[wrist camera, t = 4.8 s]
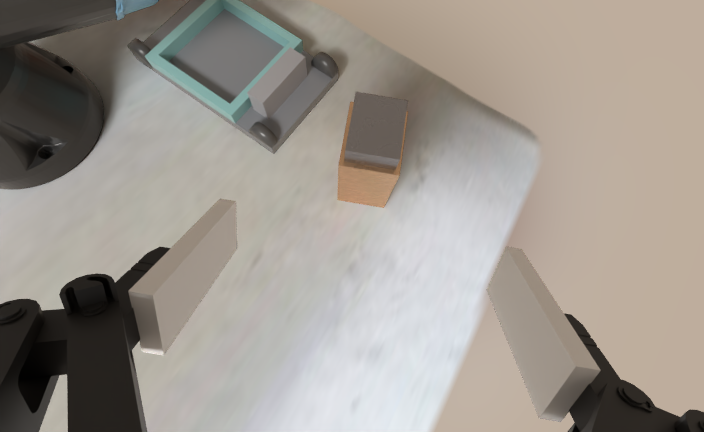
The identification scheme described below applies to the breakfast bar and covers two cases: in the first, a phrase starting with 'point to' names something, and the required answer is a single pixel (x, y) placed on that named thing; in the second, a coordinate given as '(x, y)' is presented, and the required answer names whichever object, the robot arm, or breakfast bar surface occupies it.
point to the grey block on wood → (372, 149)
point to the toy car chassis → (239, 67)
